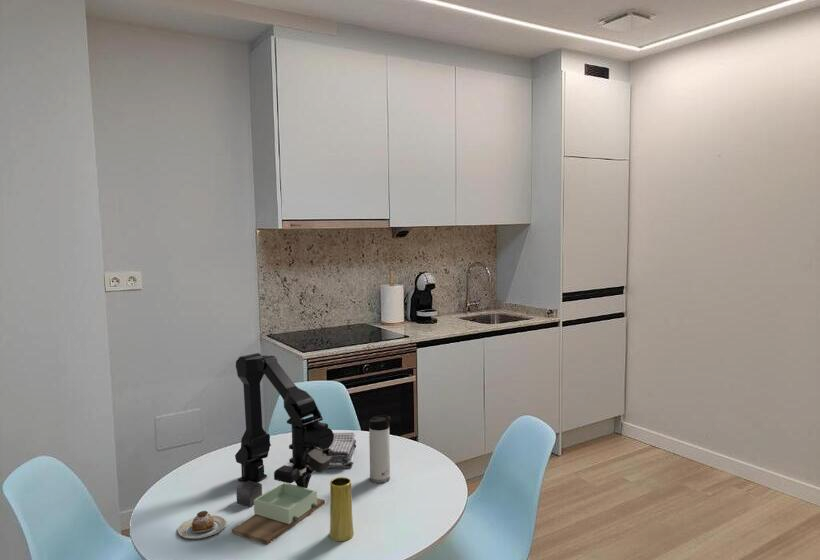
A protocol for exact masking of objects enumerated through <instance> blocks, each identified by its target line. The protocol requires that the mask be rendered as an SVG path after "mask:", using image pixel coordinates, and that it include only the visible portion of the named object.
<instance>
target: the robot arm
mask: <svg viewBox="0 0 820 560" xmlns="http://www.w3.org/2000/svg"><path fill="white" fill-rule="evenodd" d="M235 369H236V375H237V377H238V378H239V380H240V381H241V383H242V385H243V386H242V387H243V398H244V399H243V400H244V417H245V430H244V431H245V432H244V433H243V435H242V437H241V441H240V449H238V451H237V452H236V453H235V455H234V457H235V462H236V463H238V464H240V466H241V476H240V477H239V478H237V481H238V482H239V481H240V482H243V483H245V482H247V481H253V482H257V483H259V482H260V481H262V480H264V479H265V478H267V477H268V474H265V465H264V459H266V458H268V456H269V452H270V449H271V448H270V447H271V446H272V444H271V435H270V433H267V432H266V431H265V429H264V428H263V413H262V396H261V395H262V393H261V392H262V391H261V382H262V380H263V377H264V376H265V377H266V378H267V380H269V382H270V384H272V386H273V387H274V388H275V391H276V392H277V393H278V394H279V395H280V397H281V398H282V400H283V408H284V410H285V412H286V414H287V415H288V417H289V419H287V420H286V424H289V425H291V443H290V444H289V445H288V449H289V450H292V455H291V456H292V457H290V458H289V461H288V462H289V463H290V464H292V465H291V466H289V465H285V464H283V465H282V466H280V467H278V468H277V469H276V470H274V472H273V480H274V481H277V482H281V483H283V482H284V483H288V484H292V483H295V485H296V486H300V487H304V488H308V486H309V485H310V484H309V483H310V480H311V478H312V475H313V473H319V474H320V473H322V472H323V471H325V470H327V469H329V468H328V466H329V463H330V462H331V461H332V460H333V458H332V456H333V454H332V449H330V448H329V447H330V446H331V444H332V443H333V440H334V434H333V433H334V432H333V431H332V429H331V428H329V424H328V423H327V422H322V421H323V416H322V412H321V411H320V410H319V408H318V406H317V404H316V401H315V399H314V398H313V397H312V396H311V395H310V394H309V392H307V391H306V390H304V389H301V388H299V387H298V386H297V385H296V383H294V382H293V380H292V378H290V377H289V375H288V374H287V372H286V371H285V370H284V368H282V366H281V365H280V363H279V362H278V359H277V357H276V356H274V355H269V354H268V355H262V354H261V353H259V352H257V353H251V354H247V355H240V356H239V357H238V358H237V360H236V361H235ZM317 447H318V448H317ZM324 449H325V450H324Z"/></svg>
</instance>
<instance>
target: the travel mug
mask: <svg viewBox="0 0 820 560" xmlns="http://www.w3.org/2000/svg"><path fill="white" fill-rule="evenodd" d="M390 420H391V416H390V415H383V414H382V415H376V416H373V417H371V418H370V419H369V421H368V422H369V425H368V427H369V428H368V429H369V431H368V432H369V433H368V434H369V435H368V436H369V437H368V439H369V441H368V442H369V444H368V445H369V480H370V482H373V483H376V484H384V483H386V482H388V481H390V479H391V461H390V460H391V456H390V455H391V452H390V451H391V450H390V447H391V445H390ZM383 482H384V483H383Z"/></svg>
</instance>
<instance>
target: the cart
mask: <svg viewBox="0 0 820 560" xmlns="http://www.w3.org/2000/svg"><path fill="white" fill-rule="evenodd" d="M317 492H318V491H317V490H315V489H311V488H308V487H307V488H304V487H300V486H297V484H292V483H285V482H281V483H279V484H278V485H276V486H275V487H273V488H271V489H269V490H268V491H266V492H264V493H262V495H261V496H259V497H258V498H256V499H254V506H253V511H254V512H253V513H254V514H253V515H255V514H256V515H260V516H263V517H266V518H270V519H273V520H277V521H280V522H283V523H287V524H290V523H292V522H293V521H295V522H296V521H297V520H298V518H299V517H300V516H301V515H303V514H304V513H306V512H307V511H309V510H310V509H311V508H316V505H317V498H318V495H317V494H318V493H317Z"/></svg>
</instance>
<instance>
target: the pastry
mask: <svg viewBox="0 0 820 560" xmlns="http://www.w3.org/2000/svg"><path fill="white" fill-rule="evenodd" d="M216 524H217V526H216ZM226 526H227V521H226V519H225V518H223V516H219V515H216V514H210V513H209V512H208V511H207V510H201V511H198V513H197V514H196V516H195V517H193V518H190V519H188V520H186V521H184V522H183V523H181V525H179V526H178V529H177V533H178V535H179V536H180V537H183V538H185V539H186V540H194V541H195V540H197V541H198V539H204V538H208V537H210V536H213V535H214V536H215V535H216V534H218V533H219V532H221V531H222V530H223V529H225V527H226ZM215 527H217V528H216V529H215V530H214V531H212V532H211V533H207V532H209V531H211V530H213V529H214V528H215ZM188 528H189V529H190V531H191V532H192V533H195V534H202V533H207V534H204V535H190V534H188V533H187V530H188Z"/></svg>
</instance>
